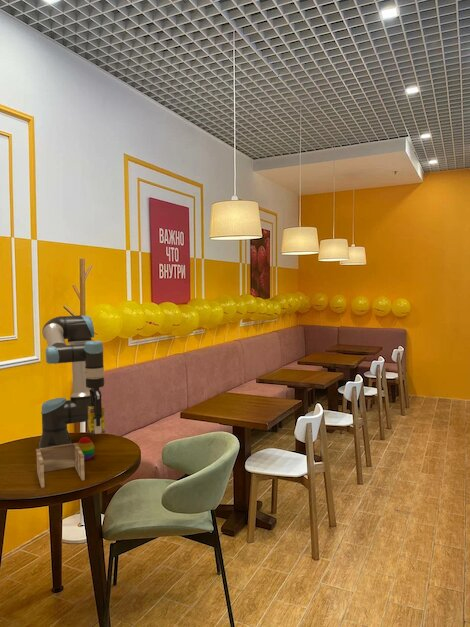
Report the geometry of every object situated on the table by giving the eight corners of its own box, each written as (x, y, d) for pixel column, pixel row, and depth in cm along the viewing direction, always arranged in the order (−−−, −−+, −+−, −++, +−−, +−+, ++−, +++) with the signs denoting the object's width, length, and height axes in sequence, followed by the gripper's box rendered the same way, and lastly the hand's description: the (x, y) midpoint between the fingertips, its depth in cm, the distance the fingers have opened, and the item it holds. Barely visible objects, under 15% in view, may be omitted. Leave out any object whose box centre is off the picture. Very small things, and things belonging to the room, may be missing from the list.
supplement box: (90, 435, 202) (89, 409, 201) (88, 431, 207) (87, 406, 206) (105, 432, 204) (104, 407, 204) (102, 429, 210) (101, 404, 209)
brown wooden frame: (36, 472, 205) (35, 449, 204) (77, 465, 212) (76, 442, 212) (40, 488, 188) (39, 462, 187) (85, 479, 195) (84, 455, 195)
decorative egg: (82, 462, 215) (81, 440, 215) (72, 459, 221) (71, 437, 220) (98, 457, 221) (97, 436, 221) (88, 454, 227) (87, 433, 226)
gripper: (82, 375, 211) (83, 427, 212) (89, 382, 194) (91, 438, 195) (99, 373, 215) (101, 424, 216) (108, 380, 198) (110, 435, 199)
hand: (96, 431), depth 206 cm, fingers closed on supplement box, 6 cm apart
